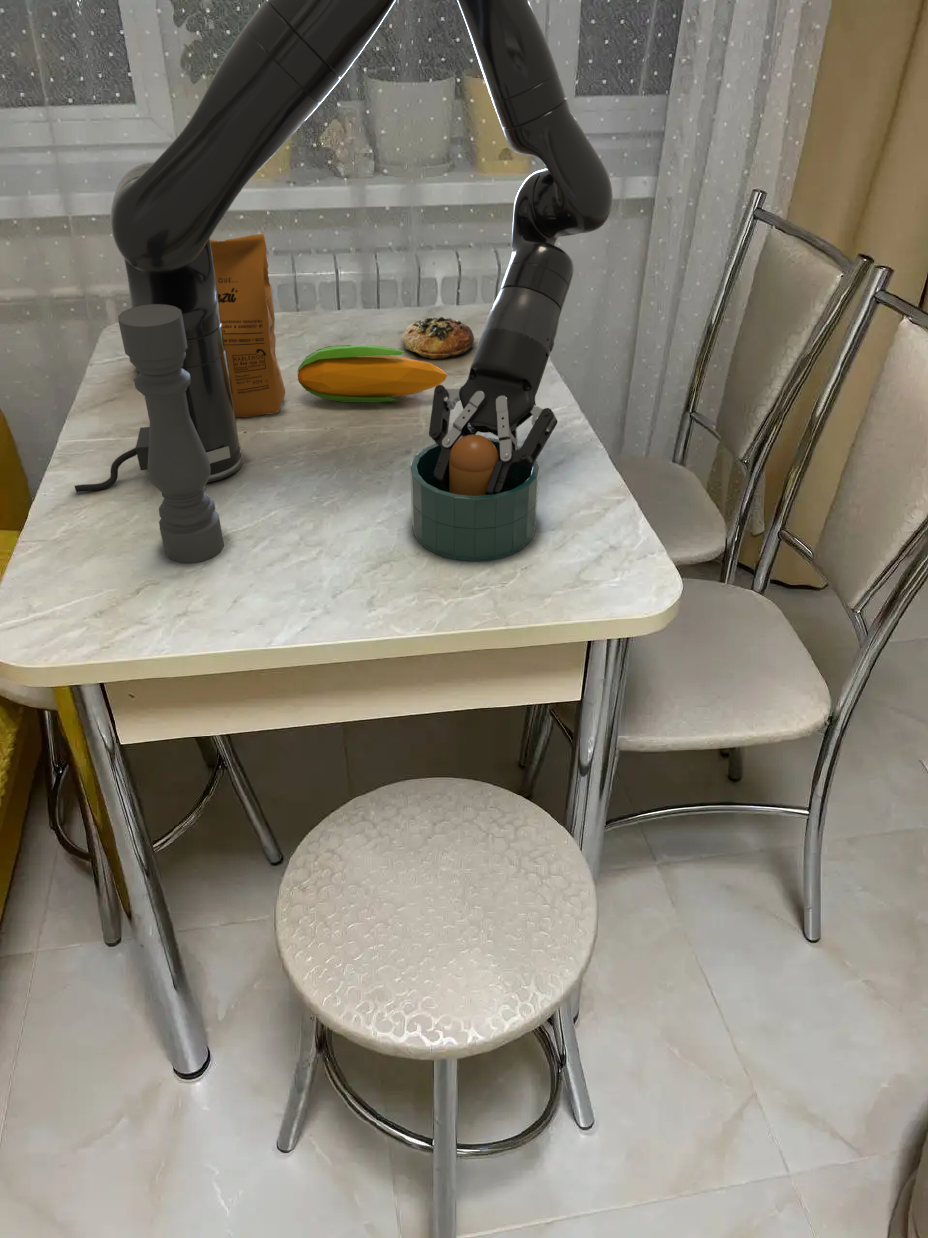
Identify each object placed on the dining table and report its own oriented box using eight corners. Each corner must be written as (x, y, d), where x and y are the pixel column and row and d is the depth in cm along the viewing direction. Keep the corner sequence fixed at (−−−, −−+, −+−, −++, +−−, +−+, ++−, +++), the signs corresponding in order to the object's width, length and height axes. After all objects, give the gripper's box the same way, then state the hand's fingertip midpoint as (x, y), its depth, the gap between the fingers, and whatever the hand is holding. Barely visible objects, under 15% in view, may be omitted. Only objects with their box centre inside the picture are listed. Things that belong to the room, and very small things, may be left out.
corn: (298, 333, 131) (447, 333, 131) (304, 384, 136) (447, 385, 136) (291, 358, 125) (446, 359, 126) (297, 411, 131) (447, 412, 131)
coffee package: (201, 387, 135) (173, 222, 122) (291, 387, 136) (273, 222, 122) (185, 419, 128) (154, 246, 114) (281, 419, 128) (261, 247, 114)
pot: (420, 566, 101) (419, 503, 96) (406, 500, 112) (404, 441, 107) (547, 555, 103) (551, 493, 98) (521, 491, 113) (523, 433, 109)
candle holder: (199, 524, 107) (157, 298, 92) (236, 544, 104) (199, 313, 89) (152, 548, 103) (100, 316, 88) (189, 569, 100) (142, 333, 85)
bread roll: (488, 339, 149) (485, 308, 146) (449, 373, 143) (445, 342, 139) (428, 327, 154) (424, 297, 151) (388, 360, 148) (382, 329, 144)
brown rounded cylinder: (453, 531, 104) (453, 450, 98) (446, 506, 108) (445, 427, 102) (501, 527, 105) (503, 447, 99) (492, 503, 109) (494, 424, 103)
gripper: (444, 314, 103) (393, 465, 101) (572, 338, 98) (520, 496, 97) (466, 345, 110) (418, 487, 109) (586, 369, 105) (537, 517, 104)
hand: (466, 490), depth 103 cm, fingers closed on brown rounded cylinder, 5 cm apart
